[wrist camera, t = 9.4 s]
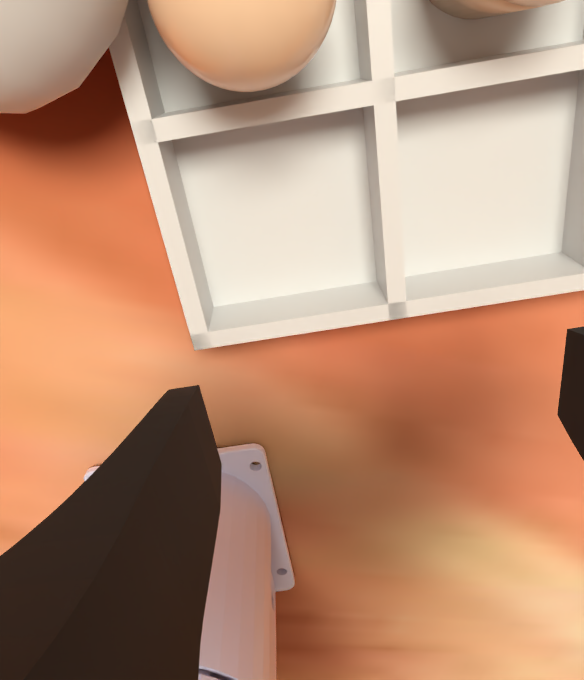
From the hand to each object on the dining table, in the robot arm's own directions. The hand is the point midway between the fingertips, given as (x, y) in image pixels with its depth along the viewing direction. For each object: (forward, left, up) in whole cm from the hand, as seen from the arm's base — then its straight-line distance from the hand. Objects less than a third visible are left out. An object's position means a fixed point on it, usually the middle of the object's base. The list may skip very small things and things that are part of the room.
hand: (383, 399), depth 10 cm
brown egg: (+8, +2, -9) cm, 12 cm away
